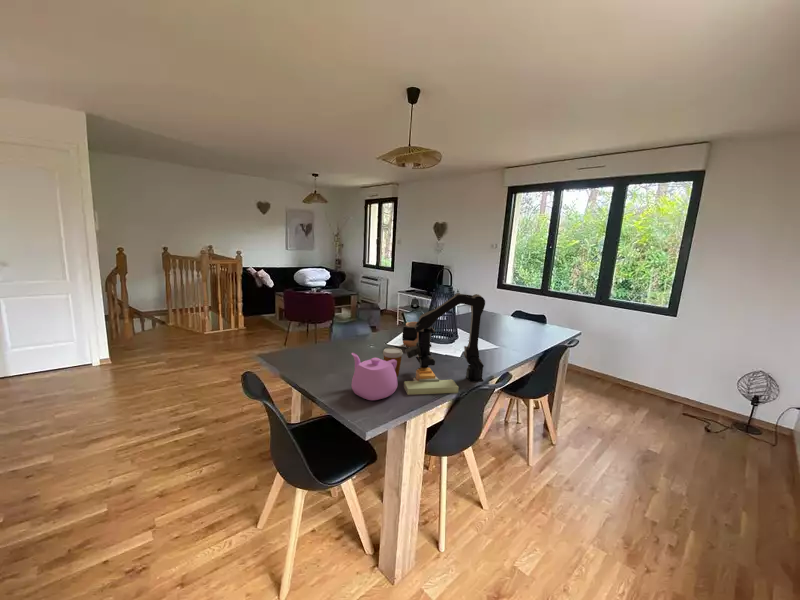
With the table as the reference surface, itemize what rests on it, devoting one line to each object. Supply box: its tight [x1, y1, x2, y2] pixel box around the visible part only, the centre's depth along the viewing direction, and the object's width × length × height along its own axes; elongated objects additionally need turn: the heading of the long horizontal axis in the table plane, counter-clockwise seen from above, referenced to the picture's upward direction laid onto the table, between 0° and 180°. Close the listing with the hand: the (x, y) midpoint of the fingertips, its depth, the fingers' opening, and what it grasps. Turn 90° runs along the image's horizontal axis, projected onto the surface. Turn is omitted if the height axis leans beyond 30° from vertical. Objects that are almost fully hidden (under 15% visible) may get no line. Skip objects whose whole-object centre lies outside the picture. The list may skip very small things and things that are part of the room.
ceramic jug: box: [402, 321, 423, 348], centre depth 213 cm, size 18×14×14 cm
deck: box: [403, 376, 460, 396], centre depth 157 cm, size 22×14×3 cm, turn 100°
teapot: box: [351, 352, 398, 401], centre depth 151 cm, size 23×21×15 cm
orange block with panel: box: [415, 367, 437, 381], centre depth 164 cm, size 7×8×5 cm
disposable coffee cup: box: [382, 347, 404, 377], centre depth 169 cm, size 10×10×12 cm
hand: (422, 373), depth 169 cm, fingers closed
